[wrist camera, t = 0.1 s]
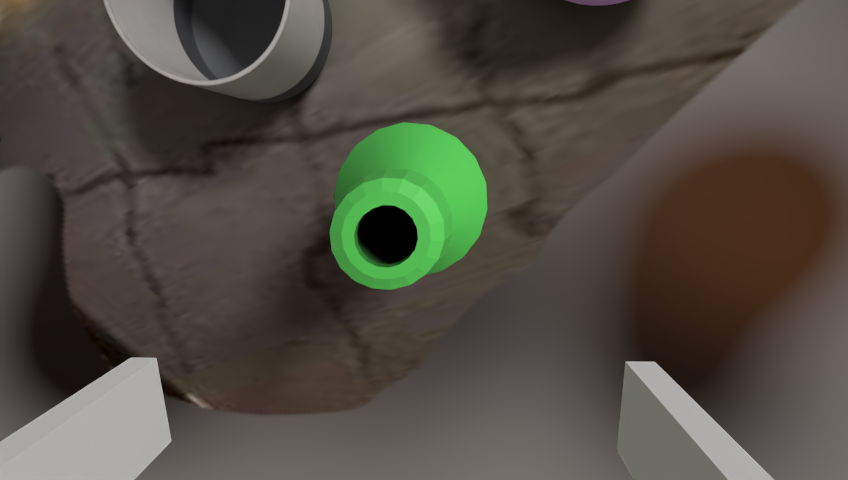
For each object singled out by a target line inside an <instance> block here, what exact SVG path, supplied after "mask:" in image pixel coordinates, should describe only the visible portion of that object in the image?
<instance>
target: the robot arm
mask: <svg viewBox="0 0 848 480" xmlns="http://www.w3.org/2000/svg"><path fill="white" fill-rule="evenodd" d="M170 442H171V436H170V430H169V425H168V419H167V414H166V408H165V403H164V397H163V392H162V386H161V381H160V375H159V370H158V364H157V359H156V358H130V359H128V360H126V361H125V362H123V363H122V364H120V365H119V366H117V367H116V368H114V369H112V370H111V371H109V372H108V373H106V374H105V375H103V376H102V377H100V378H99V379H97V380H95V381H94V382H92V383H91V384H89V385H88V386H86V387H85V388H83V389H81V390H80V391H79V392H77V393H75V394H74V395H72V396H71V397H69V398H68V399H66V400H64V401H63V402H62V403H60V404H58V405H57V406H55V407H54V408H52V409H50V410H49V411H47V412H46V413H44V414H43V415H41V416H40V417H38V418H36V419H35V420H33V421H32V422H30V423H29V424H27V425H26V426H24V427H23V428H21V429H19V430H18V431H16V432H15V433H13V434H12V435H10V436H8V437H7V438H5V439H4V440H2V441H1V442H0V480H135V479H136V478H137V476H138V475H139V474H140V473H141V472H142V471H143V470H144V469H145V468H146V467H147V466H148V465H149V464H150V463H151V462H152V461H153V460H154V459H155V458H156V457H157V456H158V455H159V454H160V453H161V451H162V450H163V449H164V448H165V447H166V446H167V445H168V444H169V443H170ZM617 451H618V452H619V455H620V456H621V458H622V460H623V462H624V463H625V465H626V467H627V468H628V470H629V472H630V474H631V475H632V477H633V479H634V480H774V479H773V478H772V477H771V476H770V475H769V474H768V473H767V472H766V471H765V470H764V469H763V468H762V467H761V466H760V465H759V464H758V463H757V462H756V461H755V460H754V459H752V457H751V456H750V455H748V453H747V452H746V451H745V450H743V448H741V447H740V446H739V445H738V444H737V443H736V442H735V441H734V440H733V439H732V438H731V437H730V436H729V435H728V434H727V433H726V432H725V431H724V430H723V429H722V428H721V427H720V426H719V425H718V424H717V423H716V422H715V421H714V420H713V419H712V418H711V417H710V416H709V415H708V414H707V413H706V412H705V411H704V410H703V409H702V408H701V407H700V406H699V405H698V404H697V403H696V402H695V401H694V400H693V399H692V398H691V397H690V396H689V395H688V394H687V393H686V392H685V391H684V390H683V389H682V388H681V387H680V386H679V385H678V384H677V383H676V382H675V381H674V380H673V379H672V378H671V377H670V376H669V375H668V374H667V373H666V372H665V371H664V370H663V369H662V368H661V367H660V366H659V365H658V364H657V363H656V362H626V363H625V373H624V383H623V393H622V404H621V414H620V425H619V435H618V446H617Z"/></svg>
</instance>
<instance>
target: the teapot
mask: <svg viewBox="0 0 848 480" xmlns="http://www.w3.org/2000/svg"><path fill="white" fill-rule="evenodd" d="M566 1H569V2H573V3H576V4H583V5H592V6H593V5H611V4H618V3H622V2H625V1H629V0H566Z"/></svg>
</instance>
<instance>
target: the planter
mask: <svg viewBox="0 0 848 480" xmlns="http://www.w3.org/2000/svg"><path fill="white" fill-rule="evenodd" d="M103 1H104V5H105V7H106V10H107V12H108V15H109V17H110V19H111V21H112V23H113V25H114V27H115V29H116V30H117V32H118V34H119V35H120V37H121V38H122V40H123V41H124V42H125V44H126V45H127V46H128V47H129V48H130V50H131V51H132V52H133V53H134V54H135V55H136V56H137V57H138V58H139V59H140V60H141V61H143V62H144V63H145V64H146V65H148V66H149V67H150V68H152V69H153V70H155V71H156V72H158V73H160V74H162V75H164V76H166V77H168V78H170V79H172V80H175V81H178V82H181V83H185V84H188V85H192V86H196V87H199V88H203V89H207V90H210V91H214V92H218V93H221V94H225V95H229V96H232V97H236V98H240V99H243V100H247V101H251V102H257V103H273V102H279V101H283V100H286V99H289V98H291V97H293V96H295V95H297V94H298V93H300V92H301V91H303V90H304V89H305V88H307V87H308V86H309V85H310V84H311V83H312V82H313V81H314V80H315V78H316V77H317V76H318V74H319V73H320V71H321V69H322V68H323V66H324V64H325V61H326V59H327V56H328V53H329V49H330V45H331V38H332V18H331V11H330V7H329V3H328V0H103Z"/></svg>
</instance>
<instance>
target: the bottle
mask: <svg viewBox="0 0 848 480" xmlns="http://www.w3.org/2000/svg"><path fill="white" fill-rule="evenodd" d="M334 199H335V207H336V210H335V212H334V216H333V220H332V224H331V228H330V241H331V250H332V252H333V254H334V256H335V258H336V260H337V262H338V264H339V266H340V268H341V269H342V270H343V271H344V272H345V273H346V274H347V275H348V276H350V277H351V278H352V279H353V280H354V281H356V282H358V283H361V284H363V285H365V286H367V287H370V288H374V289H387V290H392V289H396V288H400V287H404V286H408V285H411V284H412V283H414V282H415V281H417V280H418V279H420V278H421V277H423V276H424V275H426V274H430V273H435V272H439V271H442V270H444V269H445V268H447V267H449V266H450V265H452V264H453V263H455V262H456V261H458V260H459V259H461V258H463V257H464V256H465V254H466V253H467V252H468V251H469V249H470V248H471V247H472V245H473V244H474V243H475V241H476V240H477V239H478V238H479V236H480V233H481V229H482V226H483V223H484V220H485V217H486V213H487V191H486V181H485V179H484V176H483V174H482V172H481V169H480V167H479V165H478V163H477V160H476V158H475V156H474V155H473V154H472V153H471V152H470V151H469V150H468V149H467V148H466V147H465V146H464V145H463V144H462V143H461V142H460V141H459V140H458V139H457V137H455V136H453V135H450V134H448V133H446V132H444V131H442V130H440V129H438V128H436V127H434V126H432V125H425V124H415V123H404V122H403V123H400V124H396V125H392V126H389V127H385V128H381V129H378V130H376V131H374V132H373V133H372V134H370V135H369V136H368V137H366V138H365V139H364V140H362V141H361V142H360V143H358V144H357V145H356V146H355V147H354V148H353V150H352V151H351V153H350V154H349V156H348V157H347V159H346V160H345V162H344V164H343V165H342V167H341V168H340V171H339V175H338V180H337V184H336V189H335V193H334Z"/></svg>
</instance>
